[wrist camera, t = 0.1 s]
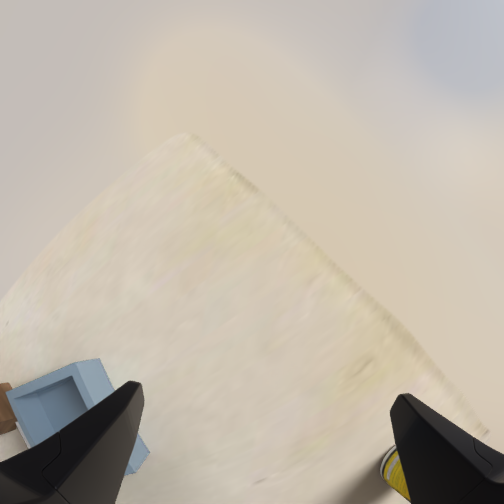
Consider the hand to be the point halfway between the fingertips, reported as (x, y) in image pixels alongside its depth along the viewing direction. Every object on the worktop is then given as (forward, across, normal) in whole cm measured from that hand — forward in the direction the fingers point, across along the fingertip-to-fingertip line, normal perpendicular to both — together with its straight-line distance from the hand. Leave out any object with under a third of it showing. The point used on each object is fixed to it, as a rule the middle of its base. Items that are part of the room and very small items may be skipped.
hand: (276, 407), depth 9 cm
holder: (+8, +15, +15) cm, 23 cm away
